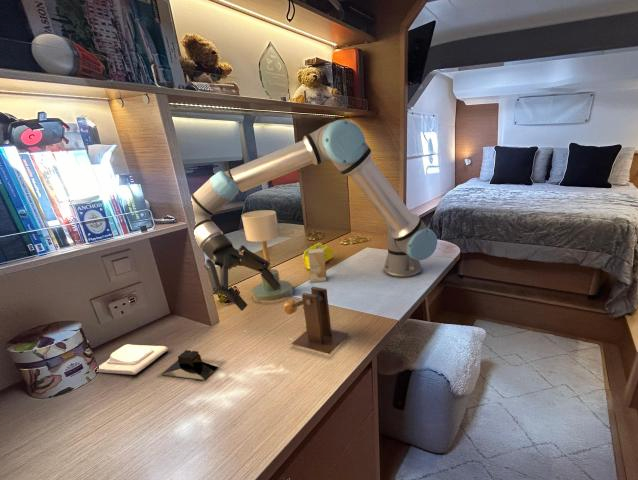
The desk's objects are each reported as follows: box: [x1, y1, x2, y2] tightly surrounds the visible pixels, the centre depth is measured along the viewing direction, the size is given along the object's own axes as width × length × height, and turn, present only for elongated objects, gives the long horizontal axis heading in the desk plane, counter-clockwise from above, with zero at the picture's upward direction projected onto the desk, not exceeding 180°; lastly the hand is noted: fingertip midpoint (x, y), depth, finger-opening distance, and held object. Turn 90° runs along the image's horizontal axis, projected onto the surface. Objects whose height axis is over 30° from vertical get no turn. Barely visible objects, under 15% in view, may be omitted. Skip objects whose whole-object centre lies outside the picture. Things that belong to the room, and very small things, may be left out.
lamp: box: [241, 209, 294, 303], centre depth 118 cm, size 14×14×30 cm
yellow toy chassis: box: [302, 241, 333, 270], centre depth 150 cm, size 16×6×8 cm, turn 158°
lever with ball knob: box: [282, 291, 323, 315], centre depth 91 cm, size 13×4×4 cm, turn 64°
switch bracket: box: [290, 286, 349, 355], centre depth 91 cm, size 12×10×16 cm
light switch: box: [95, 343, 169, 376], centre depth 89 cm, size 11×4×13 cm
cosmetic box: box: [307, 249, 327, 283], centre depth 133 cm, size 6×4×12 cm
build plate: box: [161, 349, 219, 382], centre depth 84 cm, size 12×7×5 cm, turn 78°
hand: (262, 297), depth 97 cm, fingers open, 13 cm apart
